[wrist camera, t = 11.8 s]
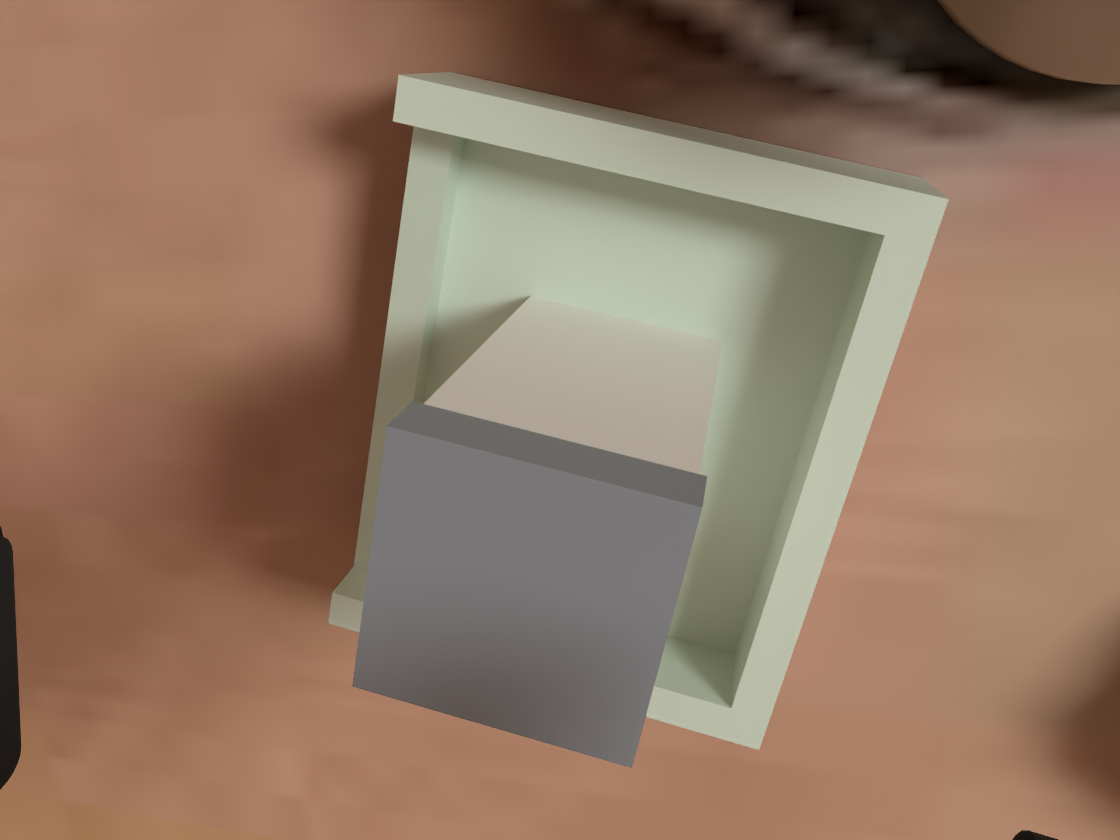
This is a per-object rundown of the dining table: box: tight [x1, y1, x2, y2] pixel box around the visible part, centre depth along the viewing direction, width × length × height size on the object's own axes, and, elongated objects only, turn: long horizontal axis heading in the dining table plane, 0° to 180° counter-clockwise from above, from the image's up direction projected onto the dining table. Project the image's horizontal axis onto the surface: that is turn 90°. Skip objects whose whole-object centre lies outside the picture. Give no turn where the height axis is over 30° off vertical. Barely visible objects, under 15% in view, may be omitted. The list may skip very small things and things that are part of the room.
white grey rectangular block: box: [353, 296, 722, 768], centre depth 17 cm, size 4×4×8 cm
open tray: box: [328, 72, 949, 750], centre depth 20 cm, size 12×10×3 cm
